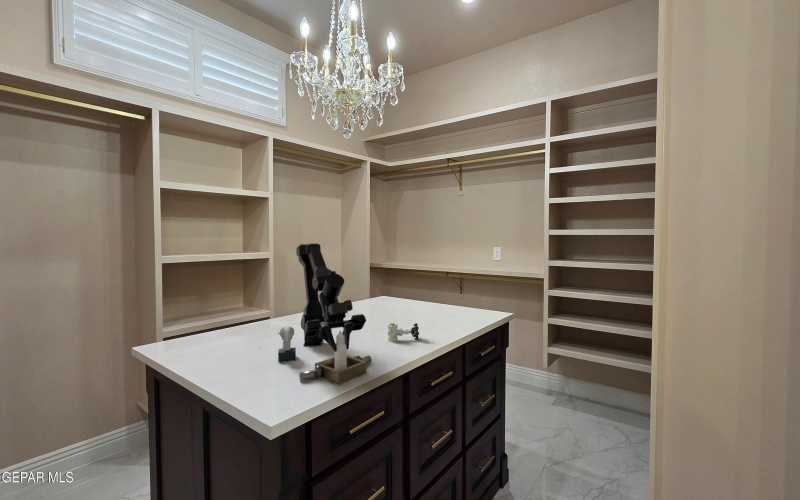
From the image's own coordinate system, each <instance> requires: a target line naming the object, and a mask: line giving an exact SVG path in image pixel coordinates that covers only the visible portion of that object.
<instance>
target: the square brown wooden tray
mask: <svg viewBox="0 0 800 500" xmlns="http://www.w3.org/2000/svg"><path fill="white" fill-rule="evenodd" d="M354 357H355V356H351V355H348V354H347V368H345V369H343V370H340V371H337V370H335V356H333V357H330V358H327V359H324V360H321V361H318V362H315V363H314V367H315V366H318V365H321V366H322V371H323V377H322V378H321V379H323V380H326V381H327V382H330V383H332V384H335V385H337V386H340V385H343V384H344V383H347V382H349V381H352V380H354V379H356V378H359V377H361V376H363V375H365V374H367V373H368V372H367V365H368V364H367V362H366V361H363V360H360V359H357V358H354Z"/></svg>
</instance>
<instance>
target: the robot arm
mask: <svg viewBox="0 0 800 500" xmlns="http://www.w3.org/2000/svg"><path fill="white" fill-rule="evenodd" d="M295 250H296V252H295V253H296V257H297V258H298V262H299V263H300V264H301V266H302V269H303V276H304V285H305V286H304V288H305V295H306V296H305V298H306V304H305V306H304V309H303V313H302V316H301V320H300V328H301V329H302V331H303V335H304V337H303V338H304V339H303V340H304V343H303V346H304V347H311V346H312V347H316V346H317V347H318V346H322V344H323V343H324V341H325V342H326V343H327V344H328V345H329V347H330V348H331V349H332V350H333V351H335V352H336V351H337V348H336V340H335V338H334V335H333V332H332V331H333V329H339V328H342V330H343V331H342V335H344V343H345V344H346V348H347V351H348V350H349V349H350V339H351V337H350V336H351V333H352V332H354V331H361V330H362V329H363V328H364V326H365V324H366V323H367V318H366V316H365V315H364V314H363V313H359V314H352V316H351V318H350V319H346V317H347V315H346V314H348V312H351V311H352V310H353V303H352V301H351V299H346V300H344V301H343V302H339V298H338V297H340V294H341V292H342V289H343V287H344V284H345V278H344V277H343V276H342V275H340V274H338V273H337V272H336V270H332V269H331V268H328V267H327V265H326V261H325V259H324V256H323V254H322V250H321V244H320V243H302V244H301V243H300V244H299V245H298V246H296V249H295ZM319 292H320V293H319ZM344 319H346V320H344Z"/></svg>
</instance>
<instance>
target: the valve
mask: <svg viewBox="0 0 800 500" xmlns="http://www.w3.org/2000/svg"><path fill="white" fill-rule="evenodd" d="M419 328H420V327H419V326H418V323H413V327H412V328H411V329H405V330H404V329H403V328H399V329H398V323H395V322H394V323H392V322H391V323H388V325H387V329H388V330H387V336H388V338H387V342H389V343H396V342H397V341H398V339H399V338H398V336H399V337H403V335H409V334H410V335H411V336H412V337H413V338H414V341H415V340H419V338H420V337H419V335H420V331H419Z"/></svg>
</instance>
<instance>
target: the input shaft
mask: <svg viewBox="0 0 800 500" xmlns="http://www.w3.org/2000/svg"><path fill="white" fill-rule="evenodd" d="M353 357H354V358H357V359H360V360H363V361H366V362H367V365H368V364H371V363H372V360H373V359H372V356H370V355H369V354H368V355H365V356H363V357H362V356H360V355H356V356H353Z"/></svg>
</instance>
